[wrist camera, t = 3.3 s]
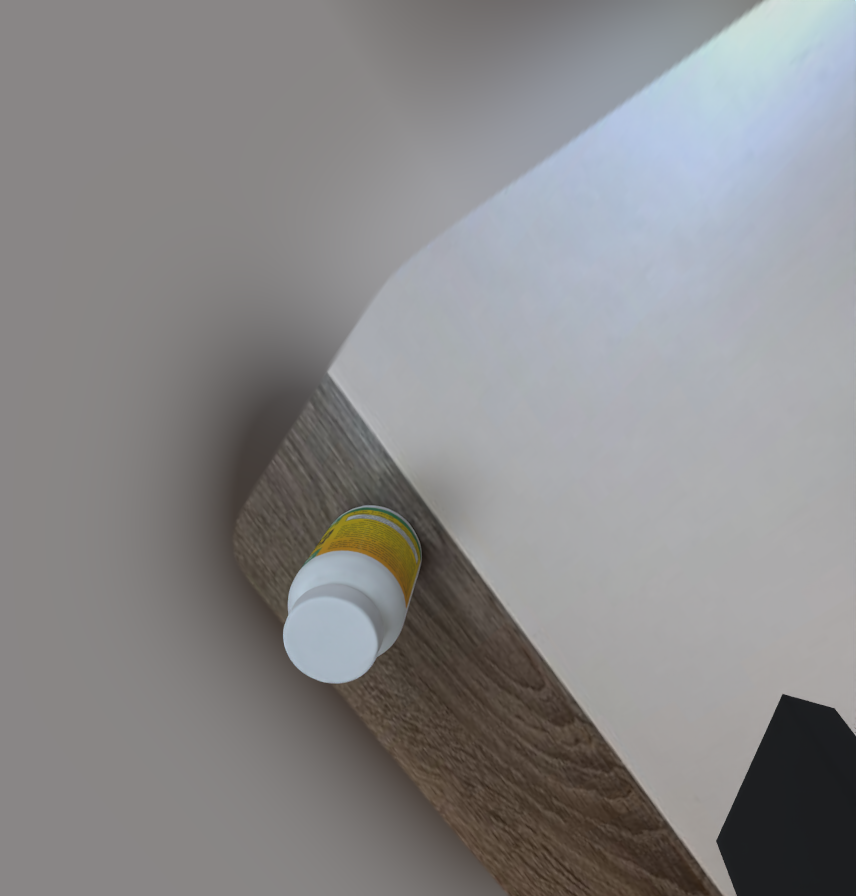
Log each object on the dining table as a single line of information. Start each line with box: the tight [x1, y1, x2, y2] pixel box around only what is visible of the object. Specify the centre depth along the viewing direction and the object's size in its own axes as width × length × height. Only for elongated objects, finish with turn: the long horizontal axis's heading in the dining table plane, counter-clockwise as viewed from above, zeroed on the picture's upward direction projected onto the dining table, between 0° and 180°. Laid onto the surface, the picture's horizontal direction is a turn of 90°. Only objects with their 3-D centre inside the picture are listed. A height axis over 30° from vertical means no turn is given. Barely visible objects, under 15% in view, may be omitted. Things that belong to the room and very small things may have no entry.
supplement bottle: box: [283, 505, 422, 684], centre depth 32 cm, size 5×5×10 cm
